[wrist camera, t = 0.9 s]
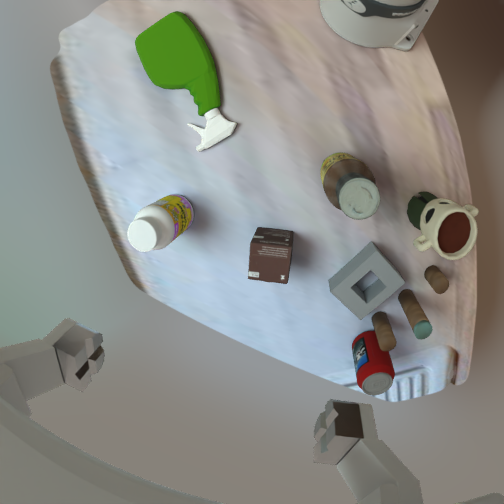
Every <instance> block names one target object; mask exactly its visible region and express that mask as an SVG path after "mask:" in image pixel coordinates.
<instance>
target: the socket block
mask: <svg viewBox="0 0 504 504" xmlns="http://www.w3.org/2000/svg"><path fill="white" fill-rule="evenodd" d="M370 270H371V271H372V272H373V273H374V274H375V275H376V276H377V277H378V278H379V279H378V280H377V281H375V282H374V283H373V284H372V285H371V286H370V287H368V288H367V289H366V290H365V291H364V292H362V291H361V290H360V289H359V288H358V287H357V286H356V285H355V283H356V282H357V281H359V280H360V279H361V278H362V277H363V276H364V275H365V274H367V273H368V272H369V271H370ZM404 283H405V281H404V279H403V278H402V276H401V274H400V273H399V271H398V270H397V269H396V268H395V267H394V266H393V265H392V264H391V262H390V261H389V260H388V259H387V258H386V257H385V256H384V255H383V253H382V252H381V251H380V250H379V249H378V248H377V247H376V246H375V245H374V244H373V243H372V241H371V242H370V243H369V244H368V245H367V246H366V247H365V248H364V249H363V250H362V251H361V252H360V253H359V254H357V255H356V256H355V257H354V258H353V259H352V260H351V261H350V262H349V263H348V264H346V265H345V266H344V267H343V268H342V269H341V270H340V271H339V272H338V273H336V274H335V275H334V276H333V277H332V278H331V279H330V280H329V287H330V292H331V293H332V294H333V295H334V296H335V297H336V298H337V299H338V300H340V301H341V302H342V303H343V304H344V305H345V306H346V307H347V308H348V309H349V310H350V311H351V312H352V313H353V314H355V315H356V316H357V317H358V318H359V319H360V320H361V319H363V318H364V317H365V316H366V315H368V314H369V313H370V312H371V311H373V310H374V309H375V308H376V307H378V306H379V305H380V304H381V303H382V302H384V301H385V300H386V299H387V298H388V297H390V296H391V295H392V294H393V293H394V292H395V291H396V290H398V289H399V288H400V287H401V286H402V285H403V284H404Z"/></svg>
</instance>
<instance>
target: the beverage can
mask: <svg viewBox="0 0 504 504" xmlns="http://www.w3.org/2000/svg"><path fill="white" fill-rule="evenodd" d="M352 351H353V358H354V364H355V371H356V377H357V383H358V386H359V387H360V388H361V389H362V390H363V391H364V392H365V393H366V394H368V395H379V394H382V393H384V392H386V391H387V390H388V389H389V388H390V387H391V386H392V383H393V379H394V376H395V372H394V368H393V365H392V361H391V358H390V355H389V351H382V350H381V349H380V346H379V343H378V339H377V336H376V333H375V331H367V332H364V333H362V334H360V335H358V336H357V337H356V338H355V339H354V341H353V344H352Z"/></svg>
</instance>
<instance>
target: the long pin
mask: <svg viewBox="0 0 504 504" xmlns="http://www.w3.org/2000/svg"><path fill="white" fill-rule="evenodd" d="M398 299H399V302H400V304H401V306H402V308H403V310H404V312H405V314H406V316H407V318H408V321H409V323H410V325H411V327H412V329H413V332H414V334H415V336H416V338H418V339H425V338H427V337H428V336H429V335H430V334H431V332H432V326H431V324H430V322H429V320H428V318H427V317H426V315H425V313H424V311H423V310H422V308H421V306H420V304H419V302H418V301H417V299H416V297H415V296H414V294H413V292H412V291H411V290H409V289H405V290H403V291H401V292H400V294H399V296H398Z"/></svg>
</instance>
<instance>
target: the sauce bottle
mask: <svg viewBox="0 0 504 504" xmlns="http://www.w3.org/2000/svg"><path fill="white" fill-rule="evenodd" d="M321 180H322V184H323V188H324V191H325V193H326V195H327V197H328V199H329V201H330V202H331V203H332V204H333V205H334V206H335V207H336V208H338V209H340V210H342V211H343V212H344V213H345V214H346V215H347V216H348V217H350V218H353V219H358V220H360V219H366V218H368V217H370V216H372V215H373V214H374V213H375V212H376V211H377V209H378V206H379V204H380V193H379V190H378V188H377V186H376V182H375V178H374V176H373V174H372V172H371V171H370V169H369V168H368V167H367V166H366V165H365V164H364V163H363V162H361V161H360V160H358V159H356V158H354V157H353V156H351V155H349V154H346V153H335V154H333V155H331V156H329V157H328V158H326V159H325V160H324V162H323V164H322V167H321Z"/></svg>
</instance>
